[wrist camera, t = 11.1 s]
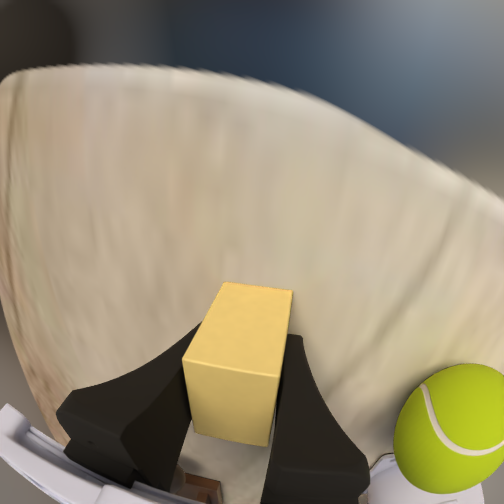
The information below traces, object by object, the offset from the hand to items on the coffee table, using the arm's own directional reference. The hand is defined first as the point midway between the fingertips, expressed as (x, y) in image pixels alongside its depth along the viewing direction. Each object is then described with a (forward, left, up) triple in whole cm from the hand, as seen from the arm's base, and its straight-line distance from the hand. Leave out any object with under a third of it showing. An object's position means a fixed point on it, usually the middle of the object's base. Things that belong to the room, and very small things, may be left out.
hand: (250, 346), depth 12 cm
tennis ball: (-11, +3, -2) cm, 12 cm away
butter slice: (0, 0, -1) cm, 1 cm away
